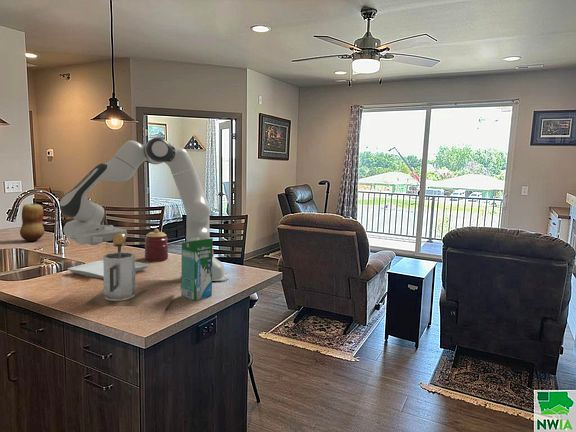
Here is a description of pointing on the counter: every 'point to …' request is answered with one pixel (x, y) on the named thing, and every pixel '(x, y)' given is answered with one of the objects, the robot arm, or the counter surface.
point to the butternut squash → (32, 222)
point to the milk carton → (197, 268)
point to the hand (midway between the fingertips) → (113, 238)
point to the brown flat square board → (100, 301)
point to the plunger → (119, 242)
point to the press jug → (119, 277)
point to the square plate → (99, 269)
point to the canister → (156, 246)
